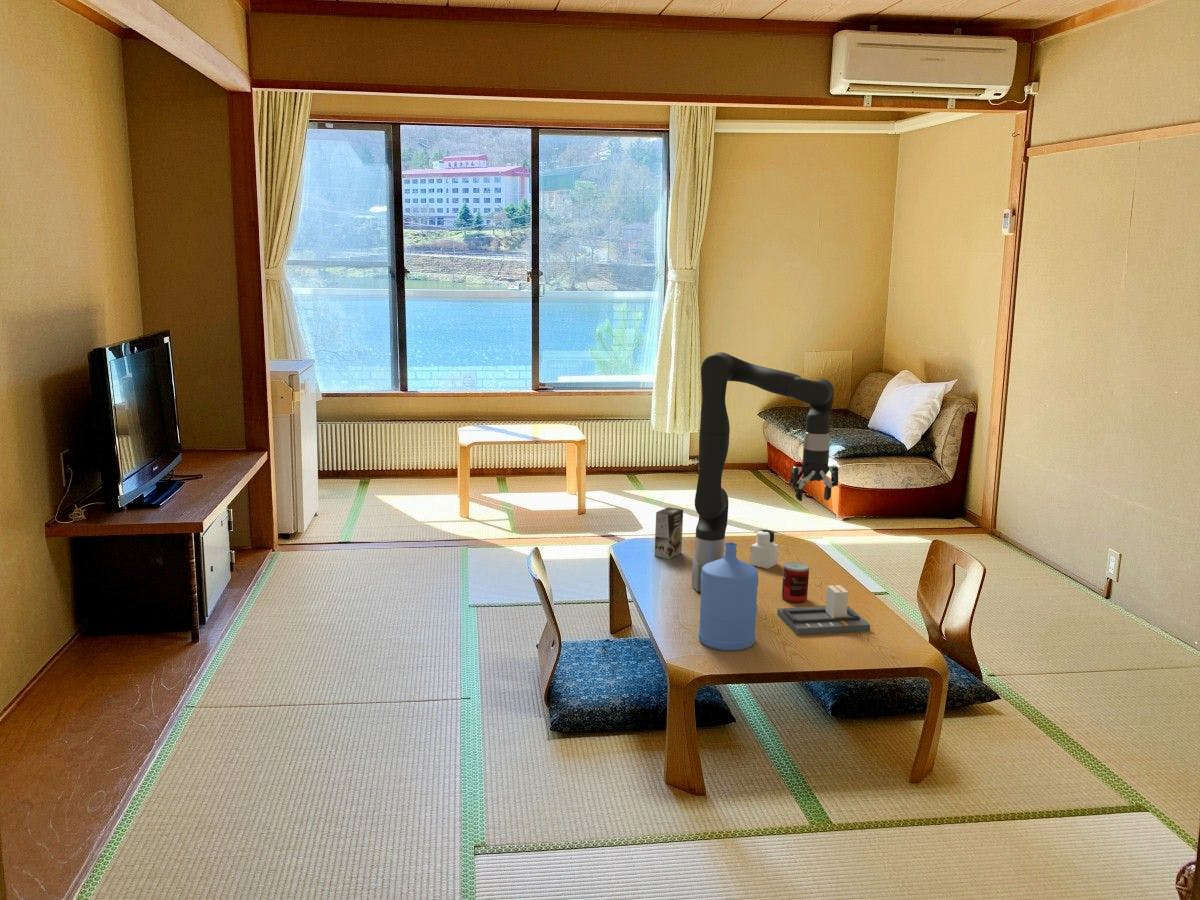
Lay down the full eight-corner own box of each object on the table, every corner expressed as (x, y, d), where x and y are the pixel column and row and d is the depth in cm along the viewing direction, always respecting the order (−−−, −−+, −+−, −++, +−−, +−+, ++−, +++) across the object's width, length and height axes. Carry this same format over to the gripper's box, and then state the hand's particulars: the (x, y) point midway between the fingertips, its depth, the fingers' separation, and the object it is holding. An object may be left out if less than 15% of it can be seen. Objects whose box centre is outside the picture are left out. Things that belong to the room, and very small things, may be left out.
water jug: (764, 648, 275) (770, 550, 269) (711, 654, 271) (715, 554, 265) (740, 627, 290) (745, 534, 284) (689, 633, 285) (693, 538, 280)
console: (797, 635, 285) (797, 624, 284) (777, 614, 300) (777, 604, 300) (869, 631, 289) (870, 620, 288) (846, 611, 304) (847, 601, 304)
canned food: (790, 593, 319) (792, 559, 317) (812, 599, 314) (814, 566, 311) (776, 598, 314) (778, 565, 312) (798, 605, 308) (800, 571, 306)
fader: (833, 618, 292) (835, 592, 290) (825, 611, 297) (827, 585, 296) (846, 618, 292) (848, 591, 291) (838, 610, 298) (839, 584, 296)
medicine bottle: (759, 560, 352) (760, 526, 349) (777, 564, 348) (779, 530, 345) (749, 565, 346) (751, 531, 343) (768, 569, 342) (770, 535, 339)
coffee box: (669, 559, 350) (671, 514, 347) (653, 556, 354) (655, 511, 350) (682, 553, 358) (684, 509, 354) (666, 549, 361) (668, 506, 358)
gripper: (798, 450, 294) (795, 504, 297) (844, 449, 297) (840, 502, 300) (789, 445, 301) (786, 497, 305) (833, 444, 304) (830, 496, 307)
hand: (813, 500), depth 302 cm, fingers open, 8 cm apart
